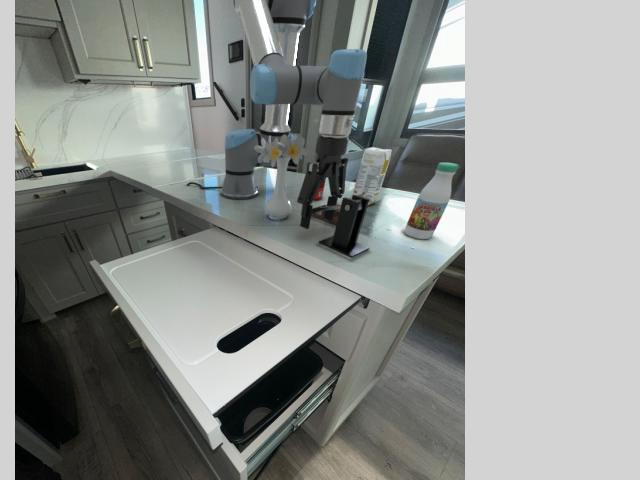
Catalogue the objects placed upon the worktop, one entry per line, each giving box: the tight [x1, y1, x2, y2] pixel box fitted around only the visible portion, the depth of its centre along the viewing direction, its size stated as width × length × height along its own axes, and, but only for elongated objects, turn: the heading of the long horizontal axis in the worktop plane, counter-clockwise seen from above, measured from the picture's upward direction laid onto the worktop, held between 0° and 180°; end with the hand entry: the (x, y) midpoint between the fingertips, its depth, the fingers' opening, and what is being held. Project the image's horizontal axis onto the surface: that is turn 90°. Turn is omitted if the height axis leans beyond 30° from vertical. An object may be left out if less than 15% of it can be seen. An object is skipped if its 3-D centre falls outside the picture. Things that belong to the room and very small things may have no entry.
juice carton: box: [352, 146, 393, 206], centre depth 101 cm, size 8×9×19 cm
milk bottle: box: [403, 162, 459, 240], centre depth 77 cm, size 8×8×20 cm
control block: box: [311, 204, 340, 227], centre depth 91 cm, size 11×9×4 cm
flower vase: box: [254, 133, 309, 221], centre depth 86 cm, size 13×18×25 cm
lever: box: [312, 199, 362, 213], centre depth 72 cm, size 13×5×2 cm, turn 37°
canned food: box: [308, 175, 327, 201], centre depth 108 cm, size 8×8×11 cm
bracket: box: [318, 194, 370, 259], centre depth 71 cm, size 11×8×14 cm
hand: (316, 223), depth 79 cm, fingers open, 10 cm apart
